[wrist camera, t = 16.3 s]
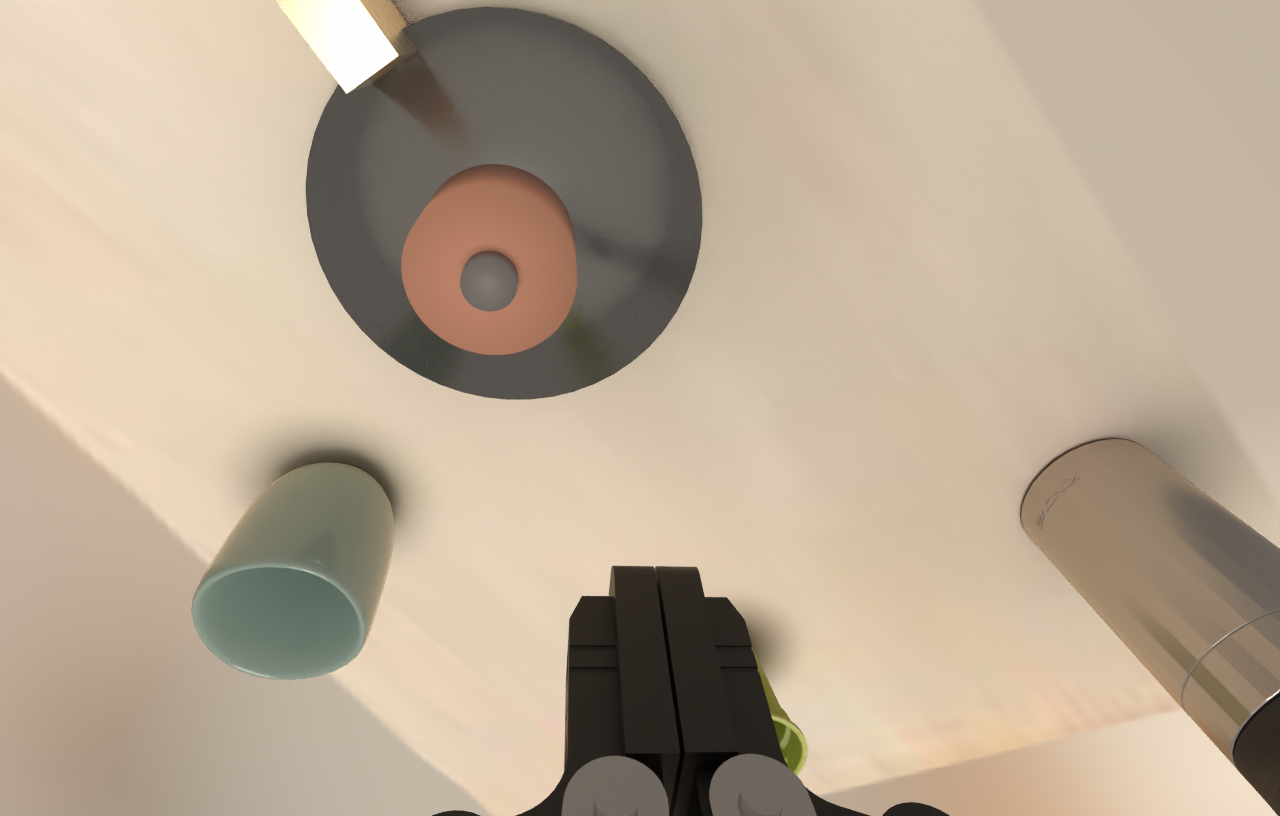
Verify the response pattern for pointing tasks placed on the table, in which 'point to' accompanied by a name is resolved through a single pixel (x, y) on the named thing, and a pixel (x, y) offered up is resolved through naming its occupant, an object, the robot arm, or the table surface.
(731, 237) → the table surface
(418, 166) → the platter
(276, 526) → the cup
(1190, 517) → the robot arm
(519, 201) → the cap
